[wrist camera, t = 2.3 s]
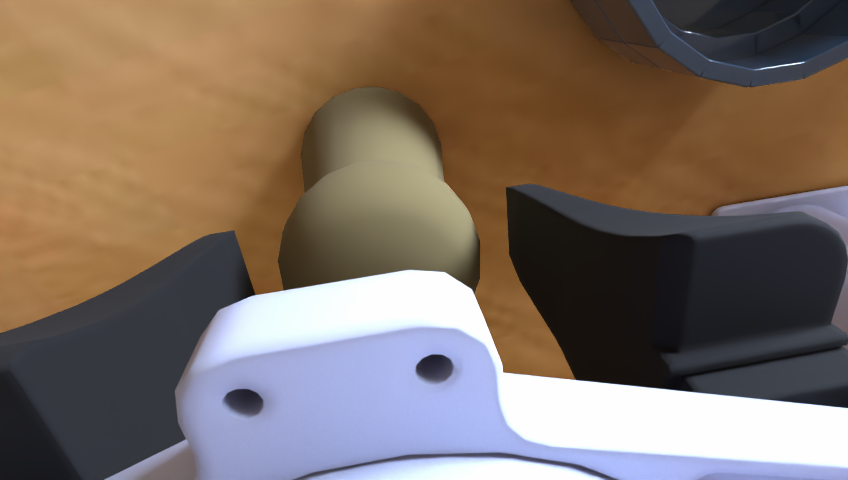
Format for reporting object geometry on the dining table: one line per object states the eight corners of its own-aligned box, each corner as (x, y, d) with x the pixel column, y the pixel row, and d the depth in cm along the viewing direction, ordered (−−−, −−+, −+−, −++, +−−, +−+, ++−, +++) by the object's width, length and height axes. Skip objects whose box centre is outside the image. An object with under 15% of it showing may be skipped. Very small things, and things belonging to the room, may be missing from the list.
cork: (325, 236, 22) (299, 419, 13) (281, 105, 20) (202, 209, 10) (453, 205, 22) (526, 363, 13) (426, 71, 20) (493, 139, 10)
